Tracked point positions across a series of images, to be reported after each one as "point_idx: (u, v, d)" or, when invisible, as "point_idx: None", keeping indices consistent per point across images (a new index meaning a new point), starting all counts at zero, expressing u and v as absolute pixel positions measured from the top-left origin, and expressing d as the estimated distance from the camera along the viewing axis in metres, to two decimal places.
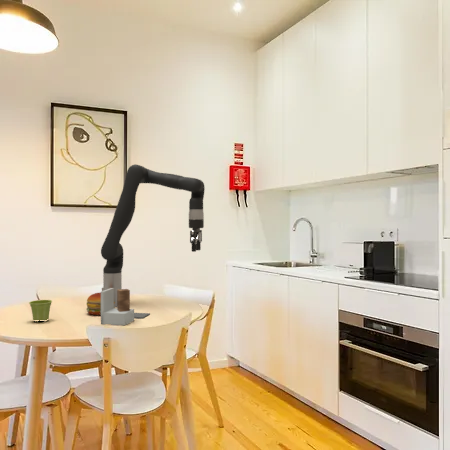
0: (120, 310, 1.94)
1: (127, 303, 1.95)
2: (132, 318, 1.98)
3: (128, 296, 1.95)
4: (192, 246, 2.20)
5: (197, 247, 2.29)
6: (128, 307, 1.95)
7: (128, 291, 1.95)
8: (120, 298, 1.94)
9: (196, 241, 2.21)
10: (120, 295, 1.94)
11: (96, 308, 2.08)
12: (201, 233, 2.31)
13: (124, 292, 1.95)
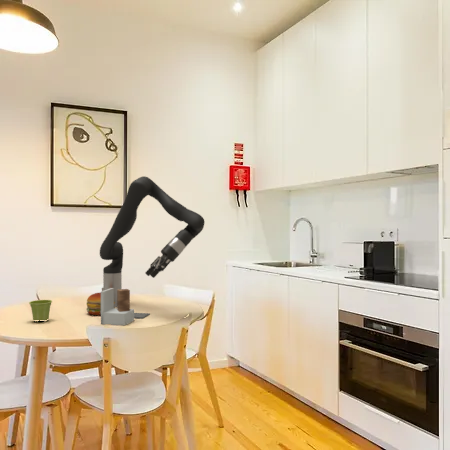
0: (120, 310, 1.94)
1: (127, 303, 1.95)
2: (132, 318, 1.98)
3: (128, 296, 1.95)
4: None
5: None
6: (128, 307, 1.95)
7: (128, 291, 1.95)
8: (120, 298, 1.94)
9: (152, 265, 2.06)
10: (120, 295, 1.94)
11: (96, 308, 2.08)
12: (164, 260, 1.98)
13: (124, 292, 1.95)
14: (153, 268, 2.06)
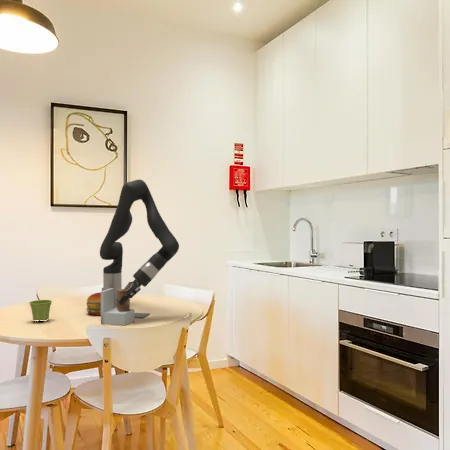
0: (120, 310, 1.94)
1: (127, 303, 1.95)
2: (132, 318, 1.98)
3: None
4: None
5: None
6: (128, 307, 1.95)
7: None
8: (120, 298, 1.94)
9: None
10: (120, 295, 1.94)
11: (96, 308, 2.08)
12: (133, 288, 1.93)
13: (124, 292, 1.94)
14: None
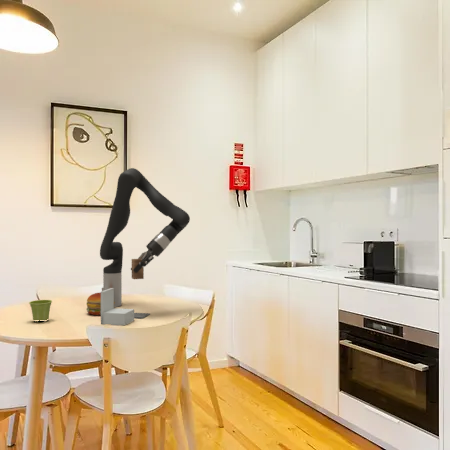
0: (134, 278, 2.05)
1: (141, 272, 2.06)
2: (132, 318, 1.98)
3: None
4: None
5: None
6: (142, 275, 2.06)
7: None
8: (134, 266, 2.05)
9: None
10: (134, 264, 2.05)
11: (96, 308, 2.08)
12: (147, 256, 2.04)
13: (138, 261, 2.06)
14: None
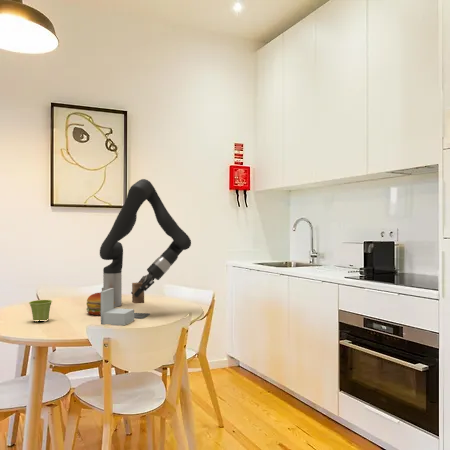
0: (135, 302, 2.04)
1: (141, 296, 2.06)
2: (132, 318, 1.98)
3: None
4: None
5: None
6: (143, 299, 2.06)
7: None
8: (135, 291, 2.04)
9: None
10: (135, 288, 2.04)
11: (96, 308, 2.08)
12: (147, 281, 2.03)
13: (139, 285, 2.05)
14: None
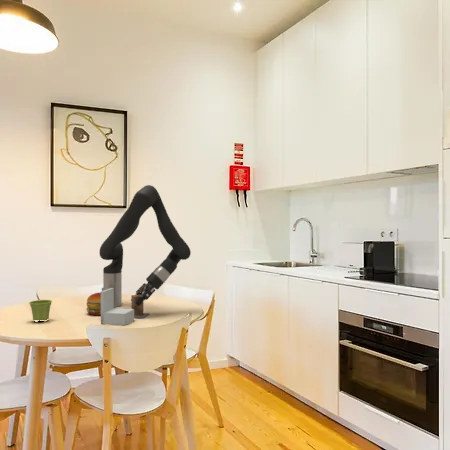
0: (134, 315, 2.05)
1: (141, 308, 2.07)
2: (132, 318, 1.98)
3: None
4: None
5: None
6: (142, 312, 2.07)
7: None
8: (134, 303, 2.05)
9: (138, 292, 2.12)
10: (134, 300, 2.05)
11: (96, 308, 2.08)
12: (149, 289, 2.04)
13: (138, 298, 2.06)
14: None
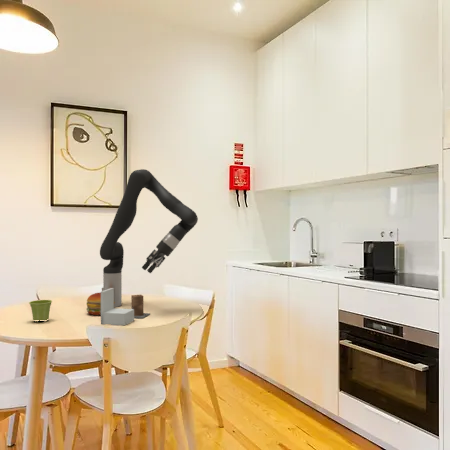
0: (134, 315, 2.05)
1: (141, 308, 2.07)
2: (132, 318, 1.98)
3: (142, 301, 2.07)
4: None
5: None
6: (142, 312, 2.07)
7: (142, 297, 2.07)
8: (134, 303, 2.05)
9: (153, 262, 2.17)
10: (134, 300, 2.05)
11: (96, 308, 2.08)
12: (152, 252, 2.08)
13: (138, 298, 2.06)
14: (154, 265, 2.17)
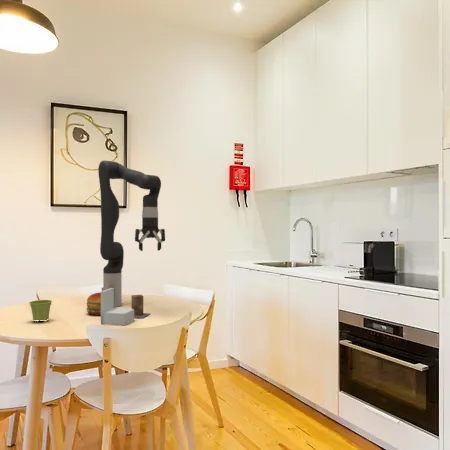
0: (134, 315, 2.05)
1: (141, 308, 2.07)
2: (132, 318, 1.98)
3: (142, 301, 2.07)
4: None
5: None
6: (142, 312, 2.07)
7: (142, 297, 2.07)
8: (134, 303, 2.05)
9: (157, 240, 2.17)
10: (134, 300, 2.05)
11: (96, 308, 2.08)
12: None
13: (138, 298, 2.06)
14: (158, 241, 2.16)
